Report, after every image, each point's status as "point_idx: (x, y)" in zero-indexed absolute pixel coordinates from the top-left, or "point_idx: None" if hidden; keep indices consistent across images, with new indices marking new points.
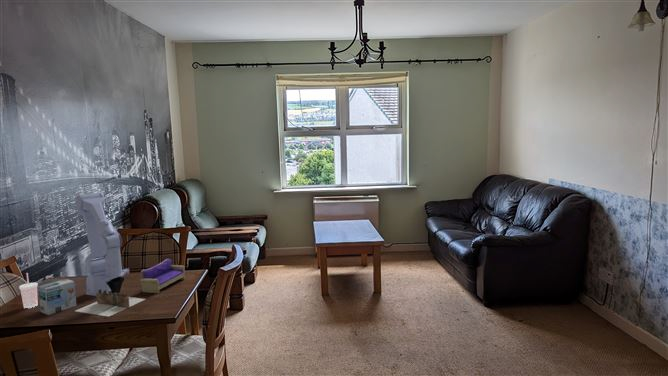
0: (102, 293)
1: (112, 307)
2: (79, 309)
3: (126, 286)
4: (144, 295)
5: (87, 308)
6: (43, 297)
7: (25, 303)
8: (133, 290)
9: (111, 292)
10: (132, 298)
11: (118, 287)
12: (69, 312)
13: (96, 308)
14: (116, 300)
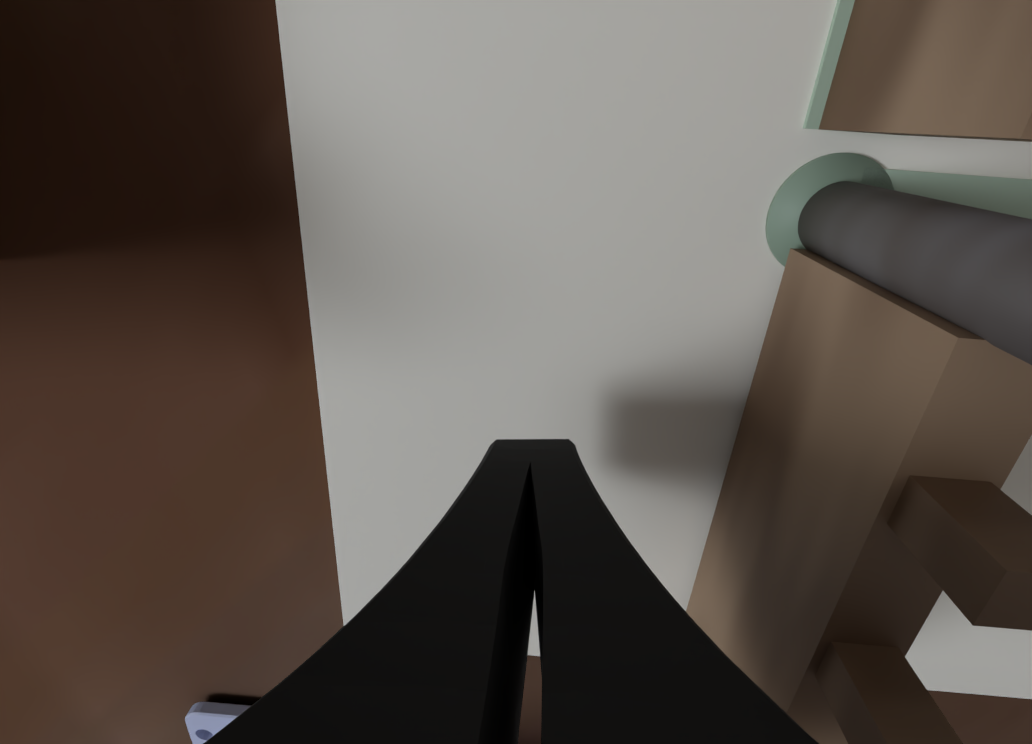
0: (817, 728)
1: (971, 192)
2: (980, 679)
3: (10, 688)
4: (45, 54)
5: (948, 611)
6: None
7: None
8: (32, 503)
9: (963, 524)
10: (349, 162)
11: (553, 586)
12: (1025, 723)
13: None
14: (924, 199)
